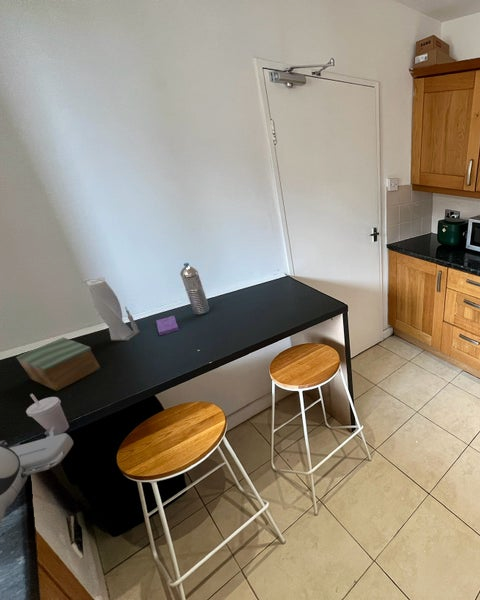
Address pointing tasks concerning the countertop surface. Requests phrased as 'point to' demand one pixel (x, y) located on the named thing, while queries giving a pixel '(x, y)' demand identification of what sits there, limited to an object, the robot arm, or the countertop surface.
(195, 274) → the water bottle
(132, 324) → the skyscraper
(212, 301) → the countertop surface
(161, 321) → the sponge
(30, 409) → the smoothie
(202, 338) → the countertop surface
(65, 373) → the wooden box
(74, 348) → the lid
